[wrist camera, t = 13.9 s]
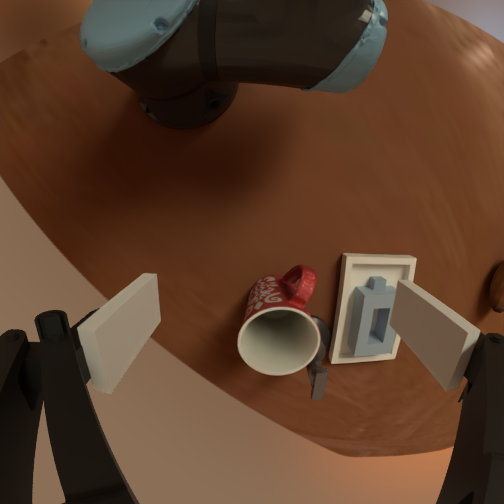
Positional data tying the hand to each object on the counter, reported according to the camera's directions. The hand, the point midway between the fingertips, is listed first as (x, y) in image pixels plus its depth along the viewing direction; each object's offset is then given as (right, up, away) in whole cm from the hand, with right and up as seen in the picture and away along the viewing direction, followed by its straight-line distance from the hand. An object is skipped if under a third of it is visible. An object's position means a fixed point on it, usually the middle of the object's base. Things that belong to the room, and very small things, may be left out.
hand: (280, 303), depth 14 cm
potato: (+49, -2, +27) cm, 56 cm away
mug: (+3, -3, +28) cm, 28 cm away
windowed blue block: (+18, -8, +28) cm, 34 cm away
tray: (+18, -7, +28) cm, 34 cm away
